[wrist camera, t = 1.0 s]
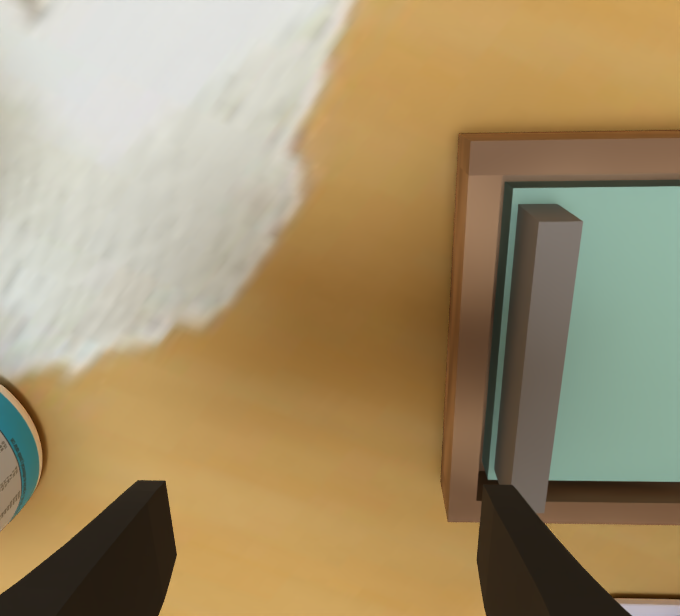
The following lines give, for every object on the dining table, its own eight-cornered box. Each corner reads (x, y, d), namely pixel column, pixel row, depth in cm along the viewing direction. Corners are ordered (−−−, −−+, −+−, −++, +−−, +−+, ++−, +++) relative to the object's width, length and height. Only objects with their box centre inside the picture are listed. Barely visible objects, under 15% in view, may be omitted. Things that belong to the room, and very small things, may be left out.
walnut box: (812, 485, 24) (857, 527, 22) (440, 481, 25) (447, 522, 22) (932, 126, 19) (1007, 133, 17) (459, 133, 20) (470, 140, 17)
